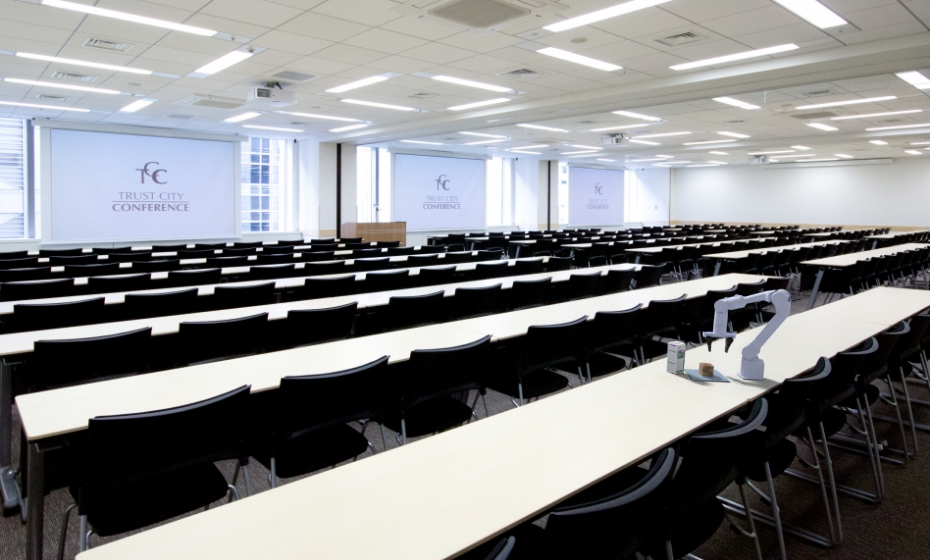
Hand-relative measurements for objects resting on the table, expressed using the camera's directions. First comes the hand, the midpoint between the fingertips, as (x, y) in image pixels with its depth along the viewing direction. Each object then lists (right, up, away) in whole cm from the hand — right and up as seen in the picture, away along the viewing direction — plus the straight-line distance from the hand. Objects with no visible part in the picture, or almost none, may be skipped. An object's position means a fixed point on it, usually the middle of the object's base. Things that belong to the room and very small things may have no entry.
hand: (717, 351), depth 281 cm
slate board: (-9, -10, -7) cm, 15 cm away
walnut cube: (-9, -10, -7) cm, 15 cm away
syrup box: (-21, -10, -2) cm, 24 cm away
